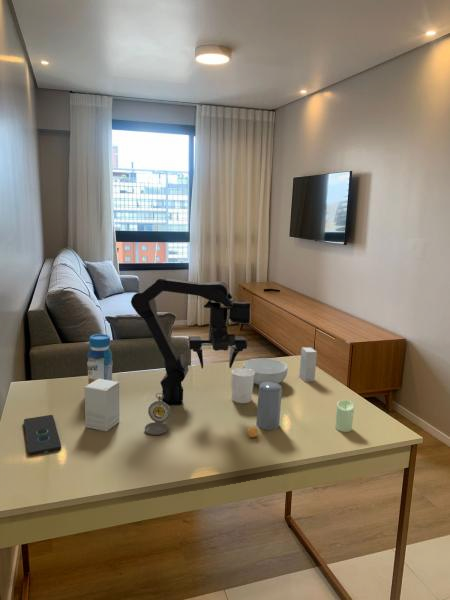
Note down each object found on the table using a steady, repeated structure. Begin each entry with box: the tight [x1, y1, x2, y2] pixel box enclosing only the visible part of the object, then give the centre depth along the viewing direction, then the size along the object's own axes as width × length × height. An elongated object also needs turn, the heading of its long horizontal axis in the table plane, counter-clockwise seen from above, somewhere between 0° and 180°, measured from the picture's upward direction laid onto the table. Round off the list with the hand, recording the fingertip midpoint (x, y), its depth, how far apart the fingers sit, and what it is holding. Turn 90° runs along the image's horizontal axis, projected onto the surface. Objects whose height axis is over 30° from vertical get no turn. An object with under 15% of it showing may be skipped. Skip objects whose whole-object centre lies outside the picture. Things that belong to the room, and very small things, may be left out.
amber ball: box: [247, 426, 259, 438], centre depth 130 cm, size 3×3×3 cm
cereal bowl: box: [242, 357, 289, 386], centre depth 172 cm, size 17×17×7 cm
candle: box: [334, 399, 355, 433], centre depth 137 cm, size 5×5×8 cm
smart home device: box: [23, 414, 62, 457], centre depth 125 cm, size 8×2×20 cm
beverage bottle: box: [86, 333, 114, 385], centre depth 154 cm, size 8×8×20 cm
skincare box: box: [298, 347, 318, 382], centre depth 177 cm, size 6×4×12 cm
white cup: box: [230, 367, 255, 404], centre depth 155 cm, size 8×8×10 cm
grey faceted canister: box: [256, 382, 283, 431], centre depth 137 cm, size 7×7×12 cm
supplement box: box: [84, 379, 121, 432], centre depth 132 cm, size 7×7×13 cm
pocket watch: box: [144, 392, 171, 436], centre depth 131 cm, size 8×8×10 cm
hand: (216, 367), depth 148 cm, fingers open, 9 cm apart
